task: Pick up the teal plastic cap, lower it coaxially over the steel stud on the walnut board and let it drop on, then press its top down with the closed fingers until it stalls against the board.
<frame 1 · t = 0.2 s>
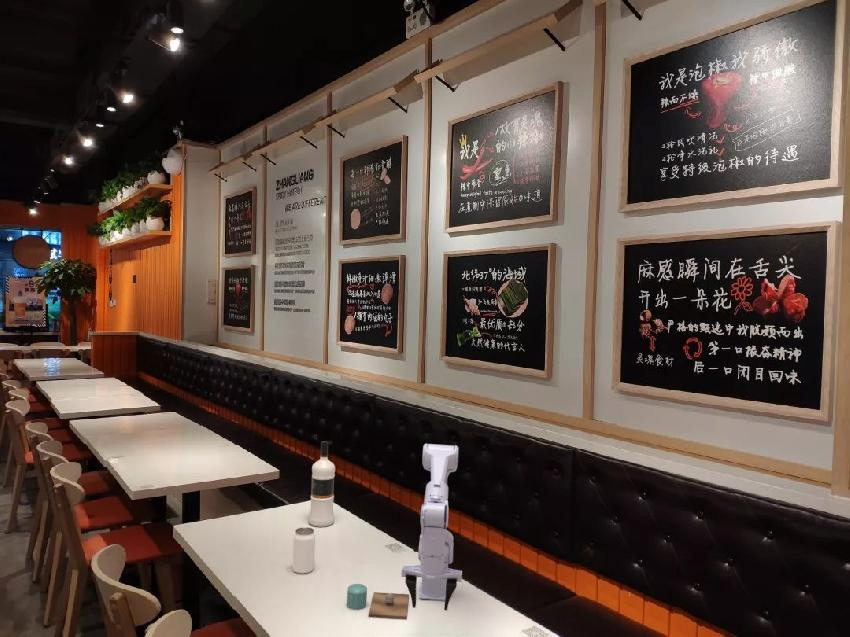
hand: (430, 607, 152), 10 cm above the table, tool pointing down, fingers open, 7 cm apart
cap: (356, 604, 172), on the table
stud board: (389, 606, 171), on the table
can: (303, 570, 191), on the table
vodka: (321, 523, 229), on the table
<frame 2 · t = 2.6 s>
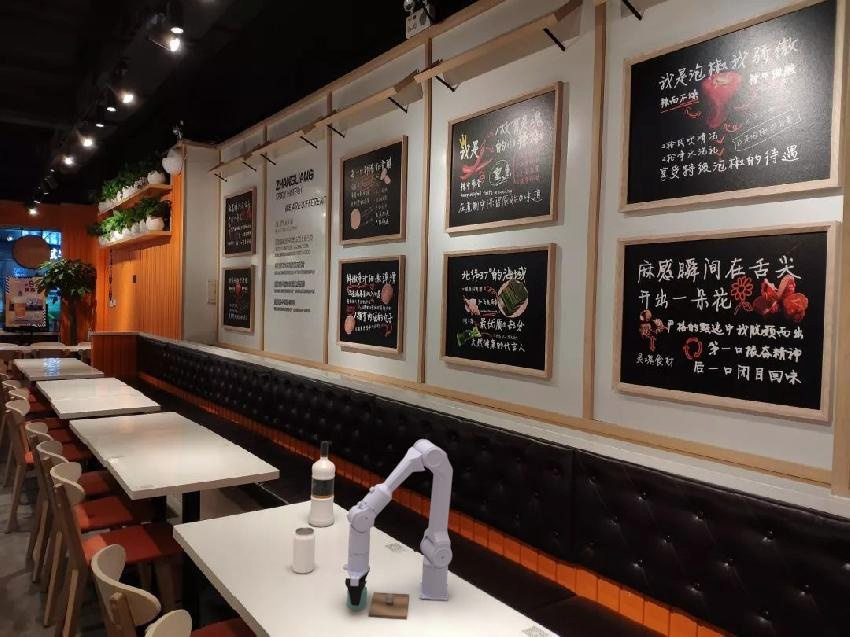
hand: (356, 599, 172), 1 cm above the table, tool pointing down, fingers closed on cap, 5 cm apart
cap: (356, 604, 172), on the table, touching gripper
everything else where it was.
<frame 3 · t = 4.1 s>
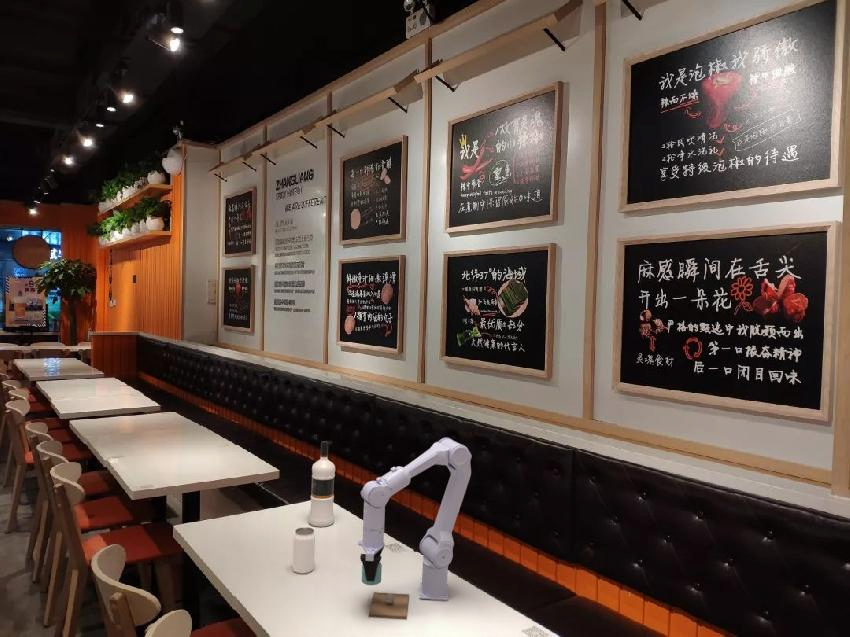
hand: (371, 575, 171), 8 cm above the table, tool pointing down, fingers closed on cap, 5 cm apart
cap: (371, 580, 171), point 7 cm above the table, touching gripper
everything else where it was.
when the fingers open (4 cm above the table, at t = 5.8 s): cap drops 2 cm, resting on stud board.
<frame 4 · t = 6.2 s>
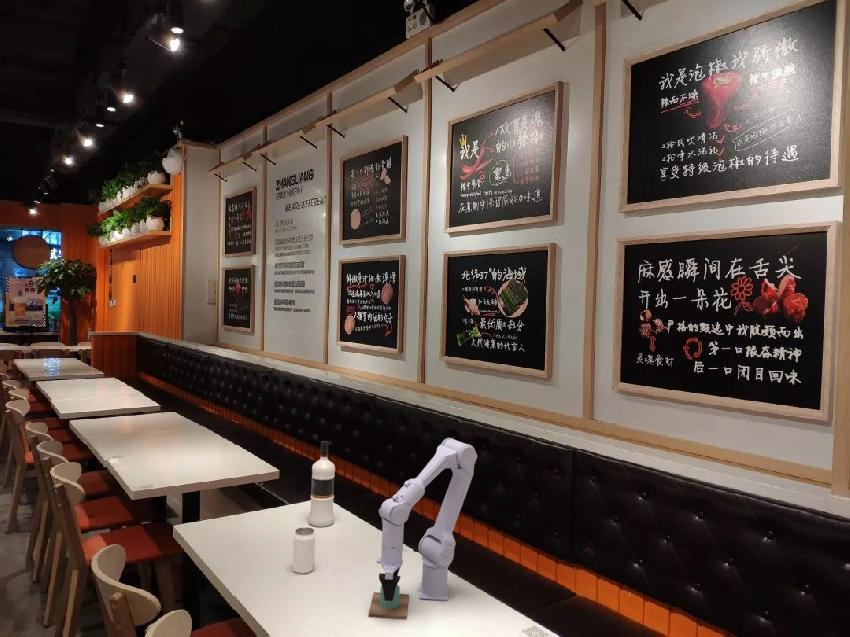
hand: (390, 593, 171), 4 cm above the table, tool pointing down, fingers open, 7 cm apart
cap: (389, 603, 171), point 1 cm above the table, touching stud board
everything else where it was.
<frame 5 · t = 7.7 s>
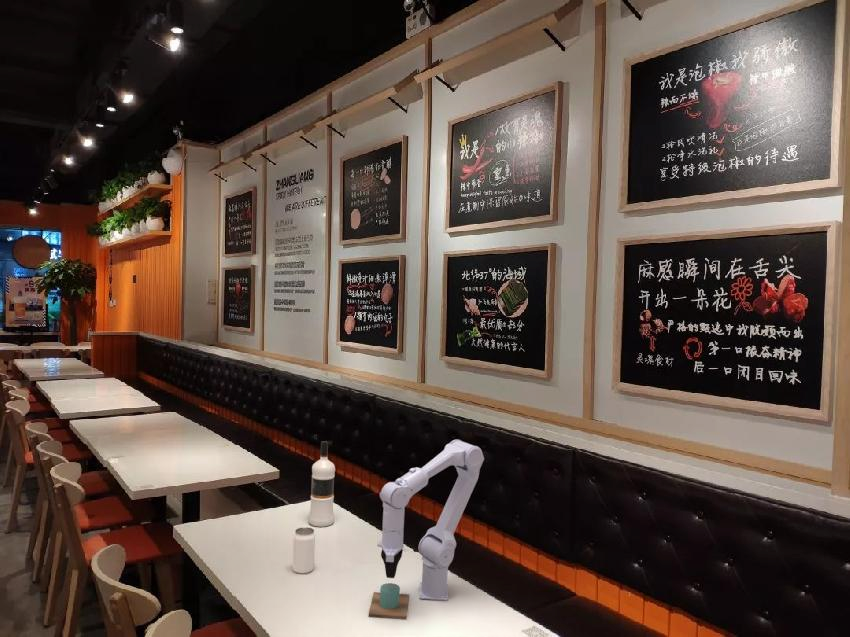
hand: (390, 576, 171), 8 cm above the table, tool pointing down, fingers closed
nothing on the table moved.
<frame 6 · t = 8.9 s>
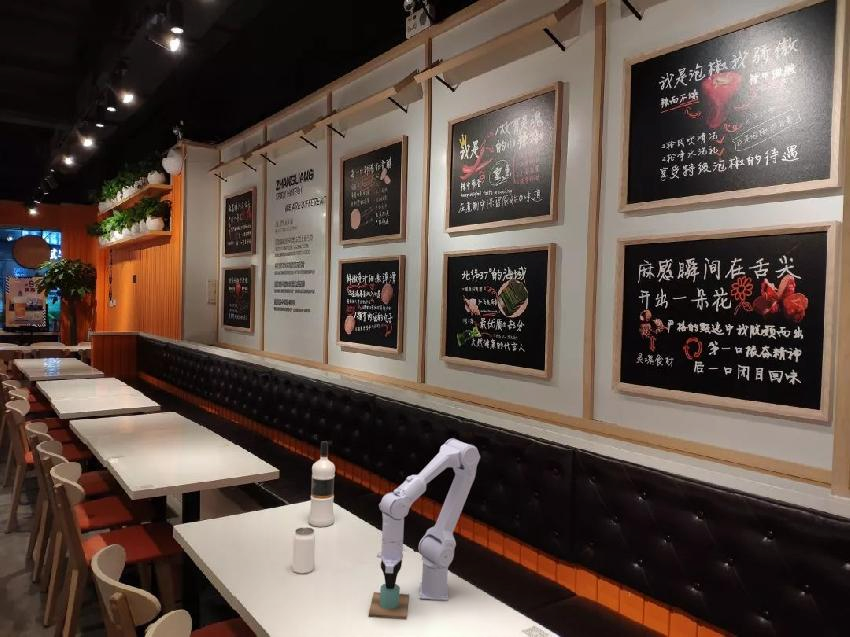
hand: (390, 587, 171), 5 cm above the table, tool pointing down, fingers closed
nothing on the table moved.
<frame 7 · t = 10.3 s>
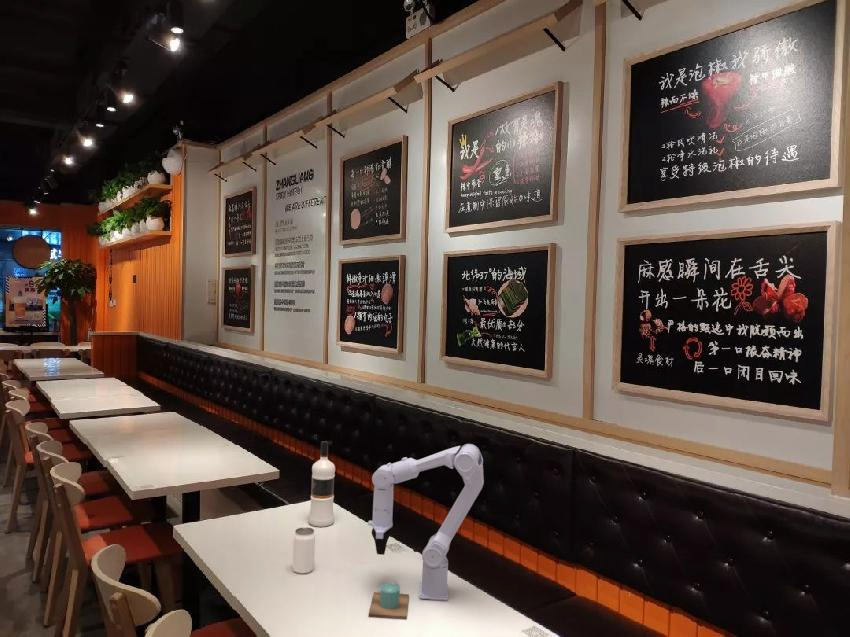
hand: (380, 553, 183), 9 cm above the table, tool pointing down, fingers closed
nothing on the table moved.
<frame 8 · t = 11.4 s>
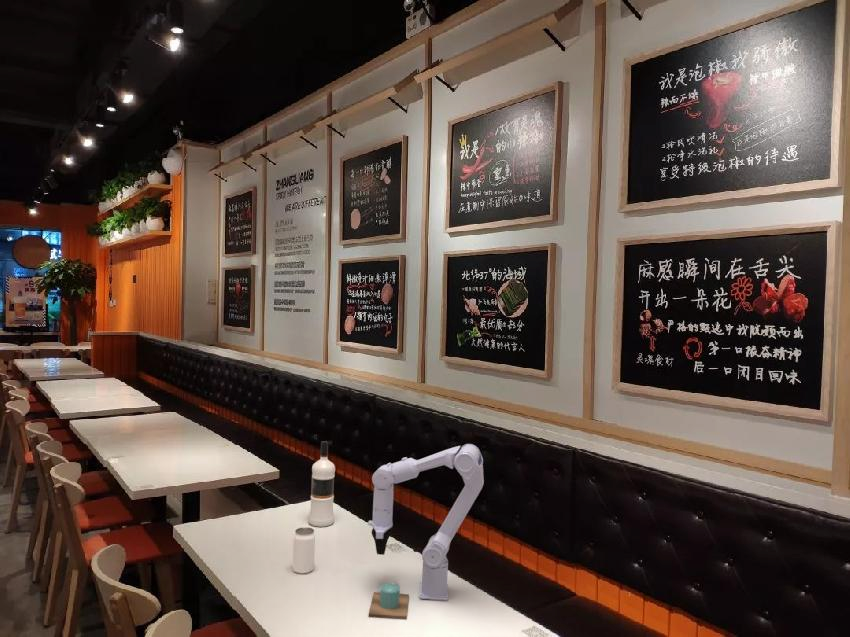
hand: (380, 553, 183), 9 cm above the table, tool pointing down, fingers closed
nothing on the table moved.
at the end: cap 0.0 cm off-centre on the stud board, point 0.8 cm above the stud board's base; cap tilted 0°; the gripper is holding nothing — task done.
